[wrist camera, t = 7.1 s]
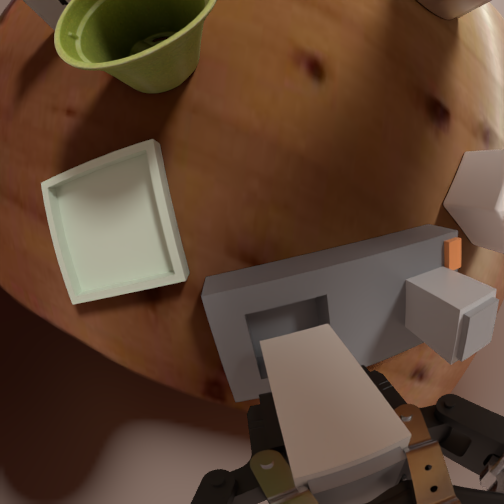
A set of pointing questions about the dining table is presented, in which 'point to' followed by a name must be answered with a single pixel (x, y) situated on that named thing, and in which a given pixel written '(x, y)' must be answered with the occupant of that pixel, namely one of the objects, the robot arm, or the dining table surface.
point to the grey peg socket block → (352, 303)
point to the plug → (333, 418)
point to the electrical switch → (48, 9)
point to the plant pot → (134, 39)
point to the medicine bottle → (479, 198)
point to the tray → (115, 224)
